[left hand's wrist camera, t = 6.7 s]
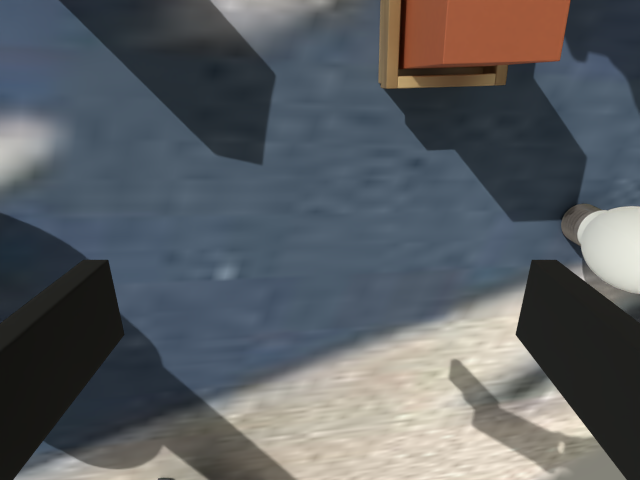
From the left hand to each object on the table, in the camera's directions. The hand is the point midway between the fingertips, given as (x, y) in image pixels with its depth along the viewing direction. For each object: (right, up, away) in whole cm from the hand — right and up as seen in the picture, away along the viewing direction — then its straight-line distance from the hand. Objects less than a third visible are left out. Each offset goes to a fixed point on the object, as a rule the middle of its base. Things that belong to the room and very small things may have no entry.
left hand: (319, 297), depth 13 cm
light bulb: (+25, +4, +26) cm, 36 cm away
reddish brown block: (+9, +18, +17) cm, 26 cm away
